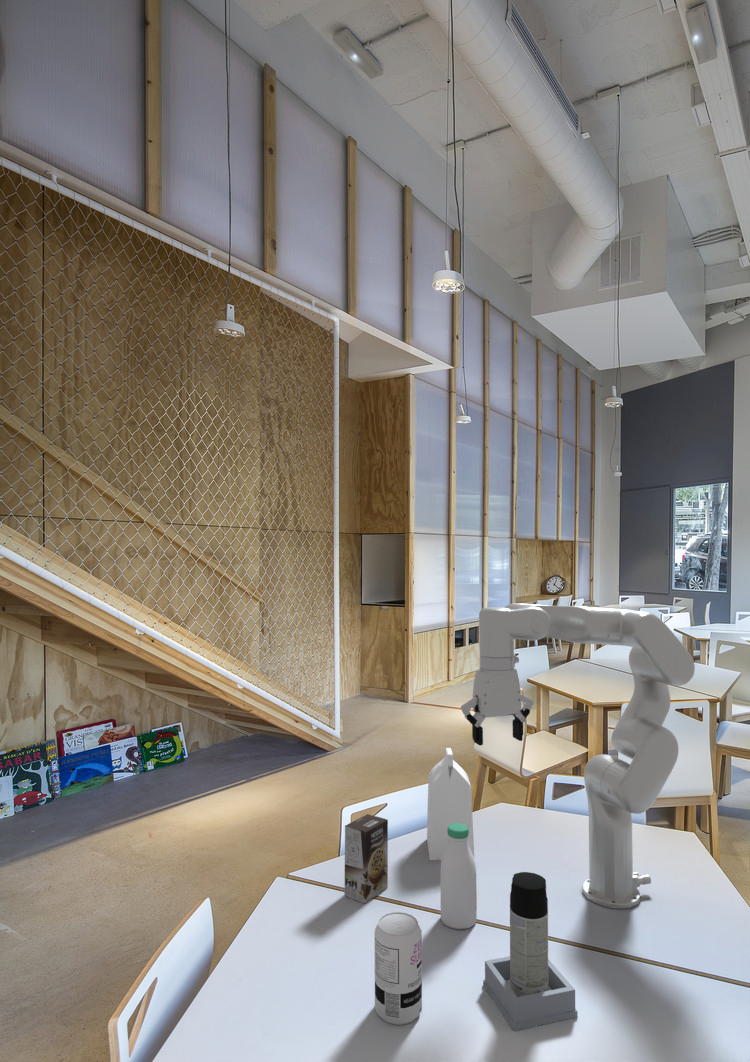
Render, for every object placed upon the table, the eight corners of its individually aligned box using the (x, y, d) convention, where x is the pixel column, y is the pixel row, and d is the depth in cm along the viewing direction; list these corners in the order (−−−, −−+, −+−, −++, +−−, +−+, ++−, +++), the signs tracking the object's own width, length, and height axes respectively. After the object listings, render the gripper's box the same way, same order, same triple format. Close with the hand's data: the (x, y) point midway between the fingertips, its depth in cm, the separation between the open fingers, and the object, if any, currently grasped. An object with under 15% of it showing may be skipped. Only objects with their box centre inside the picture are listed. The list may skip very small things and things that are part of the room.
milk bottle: (475, 932, 139) (475, 835, 139) (438, 928, 140) (438, 832, 141) (477, 912, 146) (476, 820, 147) (442, 908, 148) (442, 818, 148)
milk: (474, 860, 171) (473, 758, 171) (429, 859, 171) (429, 758, 172) (468, 839, 183) (467, 744, 183) (426, 839, 183) (426, 744, 184)
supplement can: (372, 996, 119) (372, 911, 119) (418, 993, 120) (418, 909, 120) (376, 1028, 111) (376, 937, 111) (425, 1025, 112) (425, 935, 112)
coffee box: (365, 904, 150) (365, 832, 150) (343, 895, 153) (343, 825, 154) (389, 888, 157) (388, 819, 157) (367, 879, 161) (367, 812, 161)
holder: (541, 973, 125) (541, 949, 125) (577, 1017, 114) (577, 990, 114) (483, 985, 122) (483, 960, 122) (514, 1031, 110) (513, 1003, 110)
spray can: (550, 985, 120) (549, 873, 121) (547, 1010, 114) (546, 892, 114) (512, 978, 122) (511, 868, 123) (507, 1001, 116) (506, 885, 116)
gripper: (522, 658, 153) (524, 733, 152) (453, 663, 148) (455, 740, 147) (540, 663, 146) (541, 742, 145) (468, 669, 140) (470, 750, 140)
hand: (498, 741), depth 146 cm, fingers open, 9 cm apart
